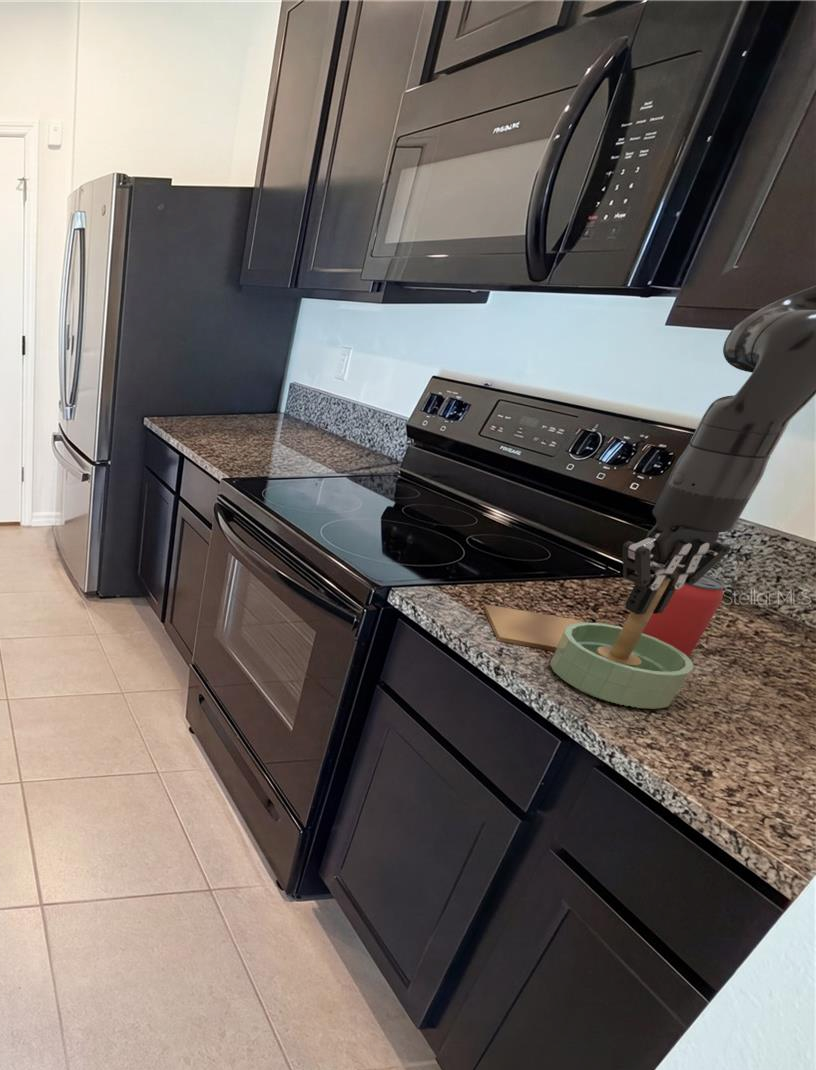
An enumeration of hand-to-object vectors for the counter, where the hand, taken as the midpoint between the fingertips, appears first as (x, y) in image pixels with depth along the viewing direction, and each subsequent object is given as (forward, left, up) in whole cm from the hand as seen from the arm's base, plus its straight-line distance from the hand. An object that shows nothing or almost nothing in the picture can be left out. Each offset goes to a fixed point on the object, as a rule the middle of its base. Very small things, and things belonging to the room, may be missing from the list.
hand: (642, 610), depth 87 cm
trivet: (+5, -13, -12) cm, 18 cm away
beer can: (-11, -15, -12) cm, 22 cm away
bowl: (0, 0, -12) cm, 12 cm away
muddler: (0, 0, -9) cm, 9 cm away
